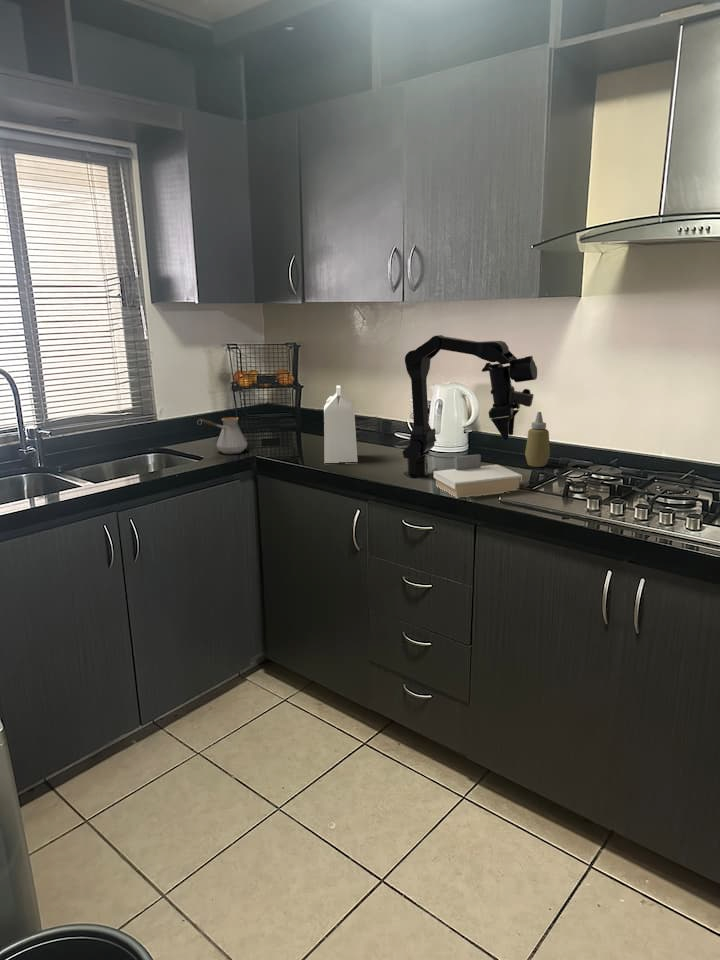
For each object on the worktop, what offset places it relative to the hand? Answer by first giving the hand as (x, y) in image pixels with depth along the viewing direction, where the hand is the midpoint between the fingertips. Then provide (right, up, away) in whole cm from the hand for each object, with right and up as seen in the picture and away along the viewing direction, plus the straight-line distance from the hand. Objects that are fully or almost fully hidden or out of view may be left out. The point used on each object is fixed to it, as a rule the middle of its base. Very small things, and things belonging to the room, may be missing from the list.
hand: (508, 437), depth 202 cm
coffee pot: (-95, -3, +55) cm, 110 cm away
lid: (-9, -12, +1) cm, 15 cm away
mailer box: (-9, -15, +1) cm, 18 cm away
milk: (-51, -5, +42) cm, 66 cm away
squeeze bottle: (+15, -8, +28) cm, 33 cm away
